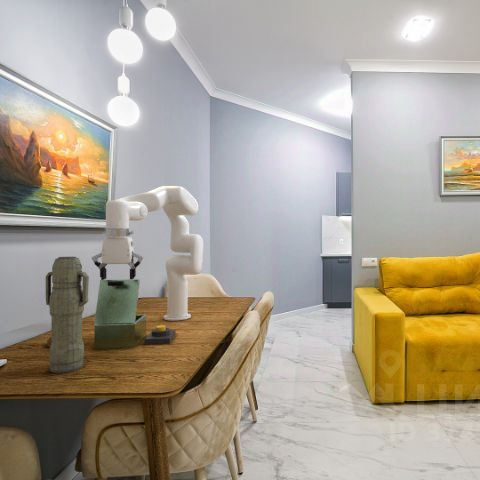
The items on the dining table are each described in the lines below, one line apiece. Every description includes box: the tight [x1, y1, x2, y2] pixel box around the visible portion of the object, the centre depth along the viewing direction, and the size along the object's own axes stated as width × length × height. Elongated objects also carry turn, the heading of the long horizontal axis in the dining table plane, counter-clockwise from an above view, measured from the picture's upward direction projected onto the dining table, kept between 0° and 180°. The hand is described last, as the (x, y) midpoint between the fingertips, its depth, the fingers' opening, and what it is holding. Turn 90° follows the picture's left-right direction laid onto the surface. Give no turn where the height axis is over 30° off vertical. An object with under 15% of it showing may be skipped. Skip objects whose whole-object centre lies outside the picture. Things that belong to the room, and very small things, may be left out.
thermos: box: [45, 256, 90, 374], centre depth 111 cm, size 9×12×35 cm
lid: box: [93, 279, 141, 325], centre depth 130 cm, size 16×14×5 cm
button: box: [155, 324, 167, 331], centre depth 141 cm, size 4×4×2 cm
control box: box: [144, 327, 177, 346], centre depth 141 cm, size 12×9×4 cm
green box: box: [93, 314, 147, 350], centre depth 137 cm, size 16×14×9 cm
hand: (118, 279), depth 132 cm, fingers open, 9 cm apart
